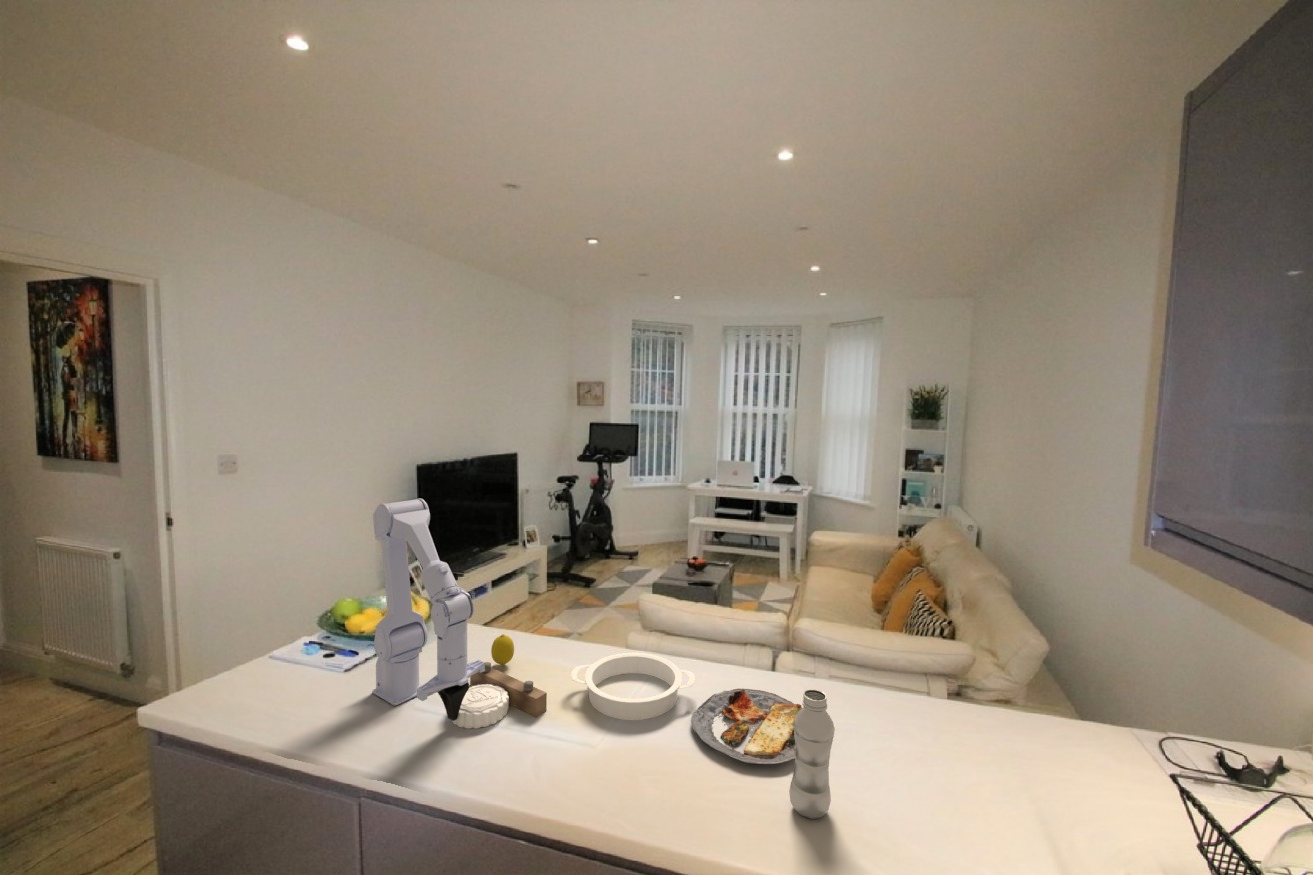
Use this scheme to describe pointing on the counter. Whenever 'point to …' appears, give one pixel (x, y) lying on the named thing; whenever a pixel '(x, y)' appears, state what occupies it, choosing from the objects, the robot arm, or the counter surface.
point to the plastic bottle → (812, 756)
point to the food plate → (750, 724)
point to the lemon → (502, 649)
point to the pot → (633, 664)
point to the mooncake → (482, 706)
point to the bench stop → (513, 690)
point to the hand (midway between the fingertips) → (452, 718)
